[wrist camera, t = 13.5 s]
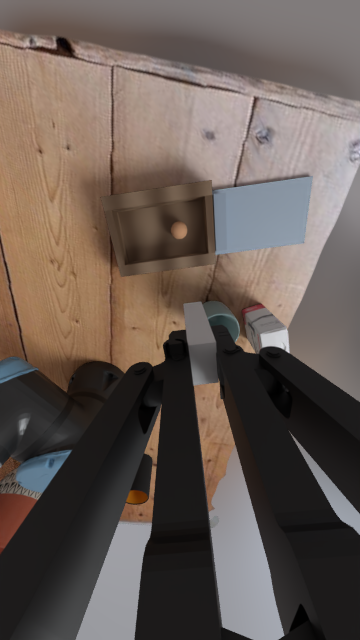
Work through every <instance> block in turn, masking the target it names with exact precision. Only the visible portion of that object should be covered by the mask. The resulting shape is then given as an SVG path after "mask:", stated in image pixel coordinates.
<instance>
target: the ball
mask: <svg viewBox="0 0 360 640" xmlns="http://www.w3.org/2000/svg"><path fill="white" fill-rule="evenodd" d="M171 233H172V235H173V237H174V238H176V239H182V238H184V237H185V236H186V234H187V227H186V225H185V224H184V223H183V222H181V221H178V222H175V223H174V224H173V225H172V227H171Z"/></svg>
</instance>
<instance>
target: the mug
mask: <svg viewBox="0 0 360 640" xmlns="http://www.w3.org/2000/svg"><path fill="white" fill-rule="evenodd" d="M151 471H152V458H151V457H150V456H149V455H147V454H143V457H142V460H141V462H140V465H139V468H138V470H137V473H136V476H135V479H134V481H133V484H132V487H131V489H130V492H129V495H128V498H127V500H126V503H128V504H133V505H138V504H143V503H145V502H146V501H147V500H148V499H149V490H150V481H151Z"/></svg>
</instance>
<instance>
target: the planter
mask: <svg viewBox="0 0 360 640" xmlns="http://www.w3.org/2000/svg"><path fill="white" fill-rule="evenodd" d="M17 468H18V467H17ZM17 468H15V469H14V470H12V471H11V472H10V473H9V474H7V475H6V476H5V477H4V478H3V479H2V480H1V481H0V554H1V552H2V551H3V549H4V548H5V547H6V545H7V544H8V542H9V541H10V539H11V538H12V536H13V535H14V534H15V532H16V531H17V529H18V528H19V526H20V525H21V523H22V522H23V521H24V519H25V518H26V516H27V515H28V513H29V512H30V510H31V509H32V508H33V506H34V505H35V503H36V502H37V500H38V499H39V497H40V496H41V494H42V493H40V492H35V491H31V490H28V489H26V488H24V487H22V486H21V485H19V484H18V481H16V478H15V477H16V472H17Z"/></svg>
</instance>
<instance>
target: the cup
mask: <svg viewBox="0 0 360 640" xmlns="http://www.w3.org/2000/svg"><path fill="white" fill-rule="evenodd" d="M202 305H203V308H204V310H205V313H206V316H207V319H208V321H209V324H210V326H214V325H224V326H225V327H227V329H228V331H229V333H230V335H231V336H232V338H233V340H234V342H236V341H237V339H238V337H239V333H240V327H239V323H238V321H237V319H236V317H235V316H234V314H233V313H232V312H231V310H230V309H229V308H228V307H227V306H226V305H225V304H224V303H222V302H220V301H207V302H205V303H203V304H202Z"/></svg>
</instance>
